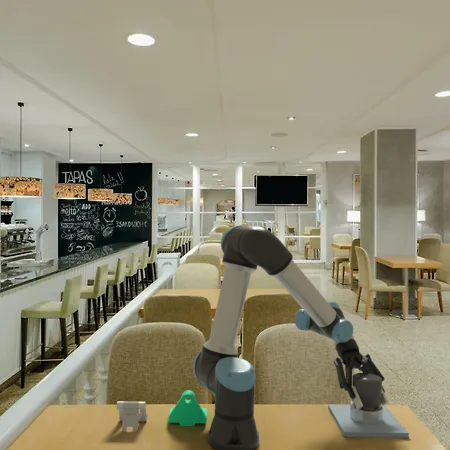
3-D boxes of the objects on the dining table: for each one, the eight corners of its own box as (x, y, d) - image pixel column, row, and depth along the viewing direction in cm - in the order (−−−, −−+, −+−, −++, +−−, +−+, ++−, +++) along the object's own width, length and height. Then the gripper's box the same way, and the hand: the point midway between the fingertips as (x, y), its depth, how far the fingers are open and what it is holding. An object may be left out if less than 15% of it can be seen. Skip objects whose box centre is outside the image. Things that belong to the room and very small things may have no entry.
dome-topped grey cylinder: (346, 413, 151) (347, 377, 151) (360, 405, 158) (361, 370, 157) (372, 423, 145) (374, 385, 144) (385, 414, 152) (386, 378, 151)
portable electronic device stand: (147, 420, 150) (147, 394, 149) (143, 431, 142) (143, 405, 141) (120, 419, 149) (121, 394, 149) (115, 431, 142) (115, 404, 141)
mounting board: (343, 436, 141) (344, 432, 141) (328, 408, 161) (328, 404, 161) (408, 437, 142) (408, 433, 142) (384, 409, 162) (384, 405, 162)
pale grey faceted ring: (344, 417, 151) (344, 404, 151) (359, 408, 159) (359, 396, 158) (373, 428, 144) (373, 414, 144) (387, 418, 152) (387, 405, 151)
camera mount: (207, 415, 154) (207, 385, 154) (205, 426, 146) (206, 394, 146) (171, 414, 154) (171, 384, 154) (168, 425, 146) (168, 393, 146)
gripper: (365, 345, 169) (394, 405, 155) (313, 351, 161) (339, 415, 147) (375, 335, 164) (406, 396, 150) (322, 340, 156) (349, 405, 142)
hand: (372, 405), depth 148 cm, fingers closed on dome-topped grey cylinder, 9 cm apart
